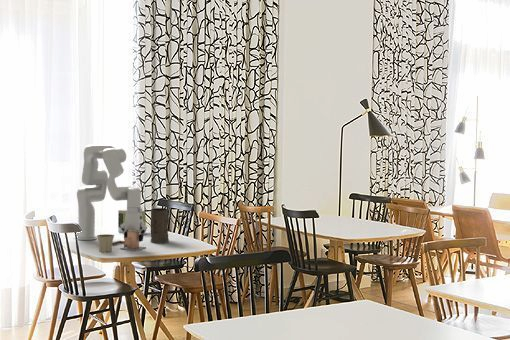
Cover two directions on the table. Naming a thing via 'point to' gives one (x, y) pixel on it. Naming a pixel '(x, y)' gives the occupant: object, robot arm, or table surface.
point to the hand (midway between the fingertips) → (133, 240)
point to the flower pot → (105, 242)
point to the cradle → (119, 243)
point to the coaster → (133, 249)
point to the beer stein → (159, 225)
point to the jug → (132, 239)
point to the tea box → (122, 219)
